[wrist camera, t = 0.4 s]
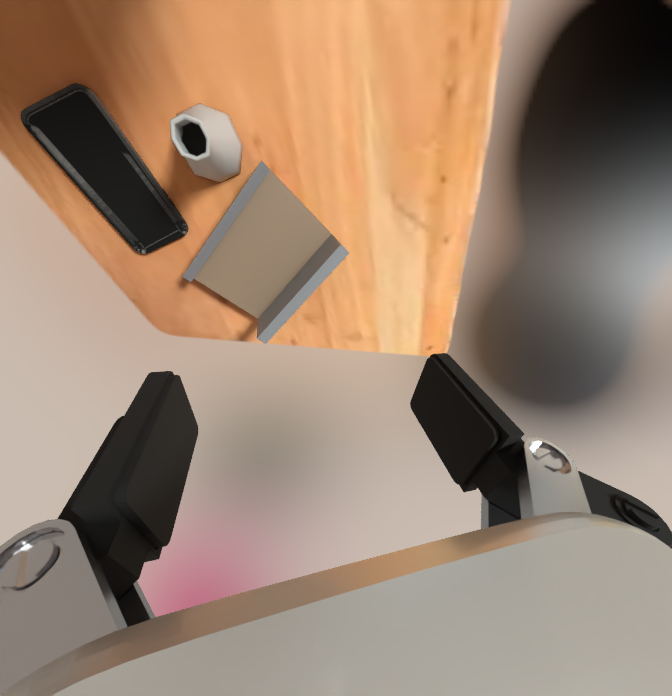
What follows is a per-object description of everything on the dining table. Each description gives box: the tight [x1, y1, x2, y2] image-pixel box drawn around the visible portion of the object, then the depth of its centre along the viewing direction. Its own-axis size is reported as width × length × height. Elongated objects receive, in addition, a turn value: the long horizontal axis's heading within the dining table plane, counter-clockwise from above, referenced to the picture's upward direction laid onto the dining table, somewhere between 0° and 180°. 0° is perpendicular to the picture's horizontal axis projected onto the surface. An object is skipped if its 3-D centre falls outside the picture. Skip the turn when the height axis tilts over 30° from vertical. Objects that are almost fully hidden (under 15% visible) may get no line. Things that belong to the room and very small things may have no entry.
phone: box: [21, 84, 188, 254], centre depth 29 cm, size 8×1×15 cm
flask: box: [170, 103, 242, 182], centre depth 25 cm, size 7×7×10 cm
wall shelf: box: [182, 161, 349, 344], centre depth 34 cm, size 14×18×8 cm
